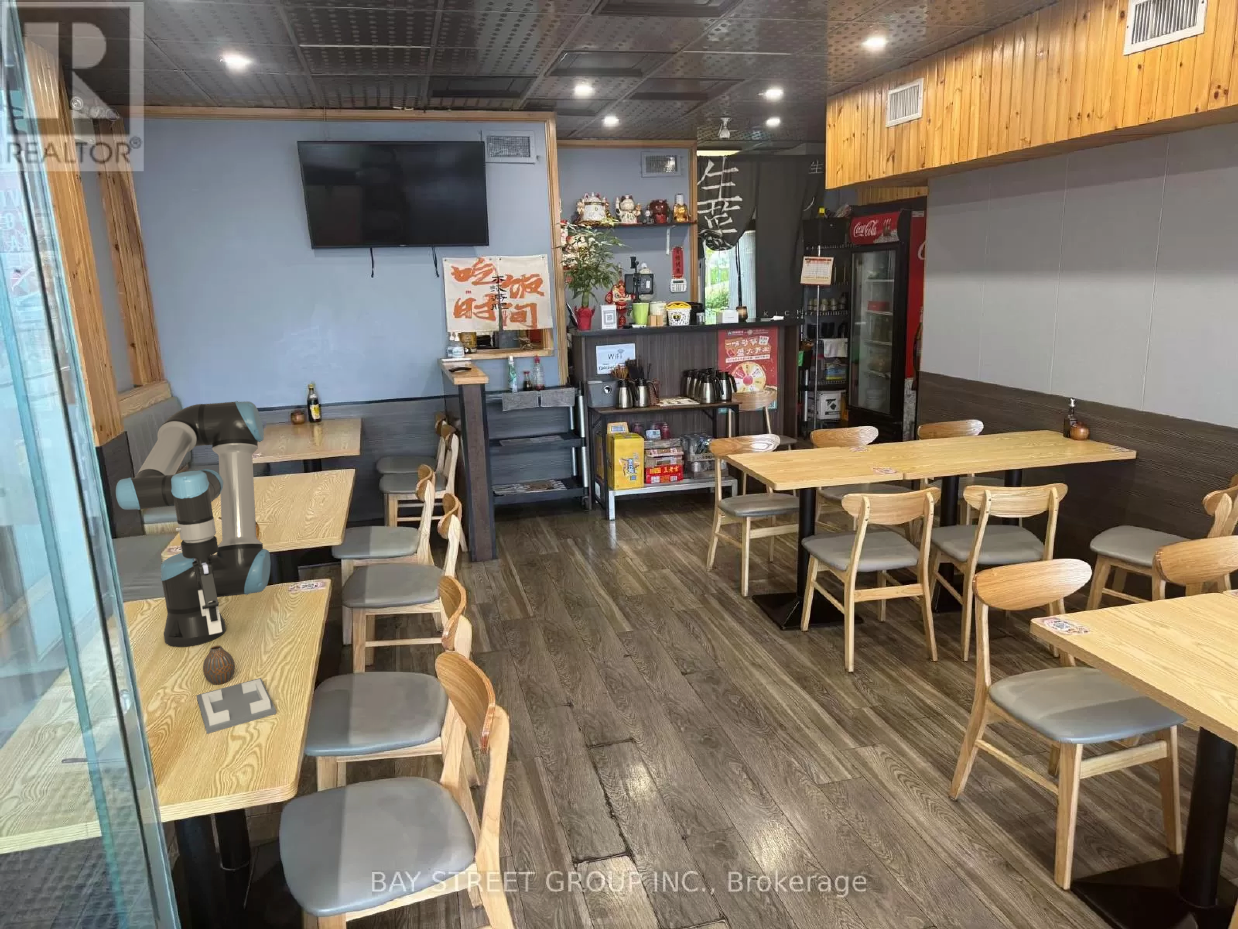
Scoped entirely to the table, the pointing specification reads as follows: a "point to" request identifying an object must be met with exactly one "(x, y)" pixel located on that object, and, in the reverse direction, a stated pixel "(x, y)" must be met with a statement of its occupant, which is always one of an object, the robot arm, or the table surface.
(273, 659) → the table surface
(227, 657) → the vase
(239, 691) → the board
